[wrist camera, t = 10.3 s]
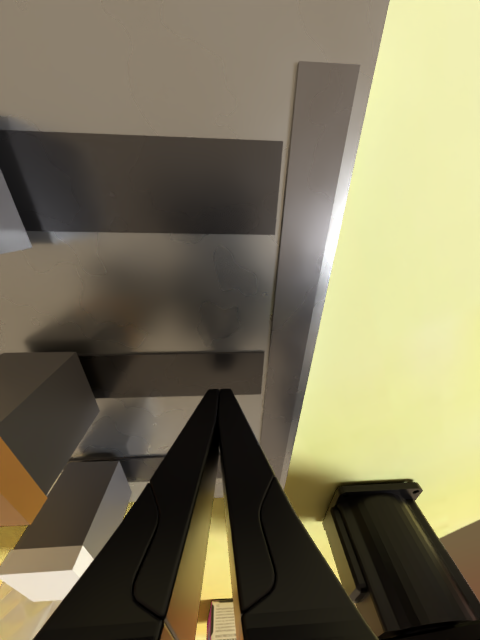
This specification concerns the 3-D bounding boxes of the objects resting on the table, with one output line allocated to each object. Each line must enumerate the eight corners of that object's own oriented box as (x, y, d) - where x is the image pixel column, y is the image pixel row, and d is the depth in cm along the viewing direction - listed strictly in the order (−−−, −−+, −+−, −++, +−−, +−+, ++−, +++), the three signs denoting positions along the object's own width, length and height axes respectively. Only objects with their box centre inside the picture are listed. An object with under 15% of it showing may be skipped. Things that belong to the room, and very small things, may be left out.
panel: (352, 48, 6) (392, -5, 4) (278, 469, 15) (283, 496, 13) (-224, 10, 5) (-403, -68, 4) (69, 478, 14) (51, 508, 13)
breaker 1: (77, 350, 7) (-36, 455, 4) (101, 411, 9) (30, 524, 6) (1, 351, 7) (-172, 460, 4) (38, 413, 9) (-70, 530, 6)
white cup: (11, 515, 16) (-260, 896, 7) (108, 496, 16) (-51, 879, 7) (72, 553, 20) (-56, 837, 11) (153, 539, 19) (89, 825, 10)
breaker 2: (119, 460, 10) (72, 570, 7) (133, 492, 12) (98, 597, 9) (66, 462, 10) (-6, 575, 7) (86, 495, 12) (33, 601, 9)
